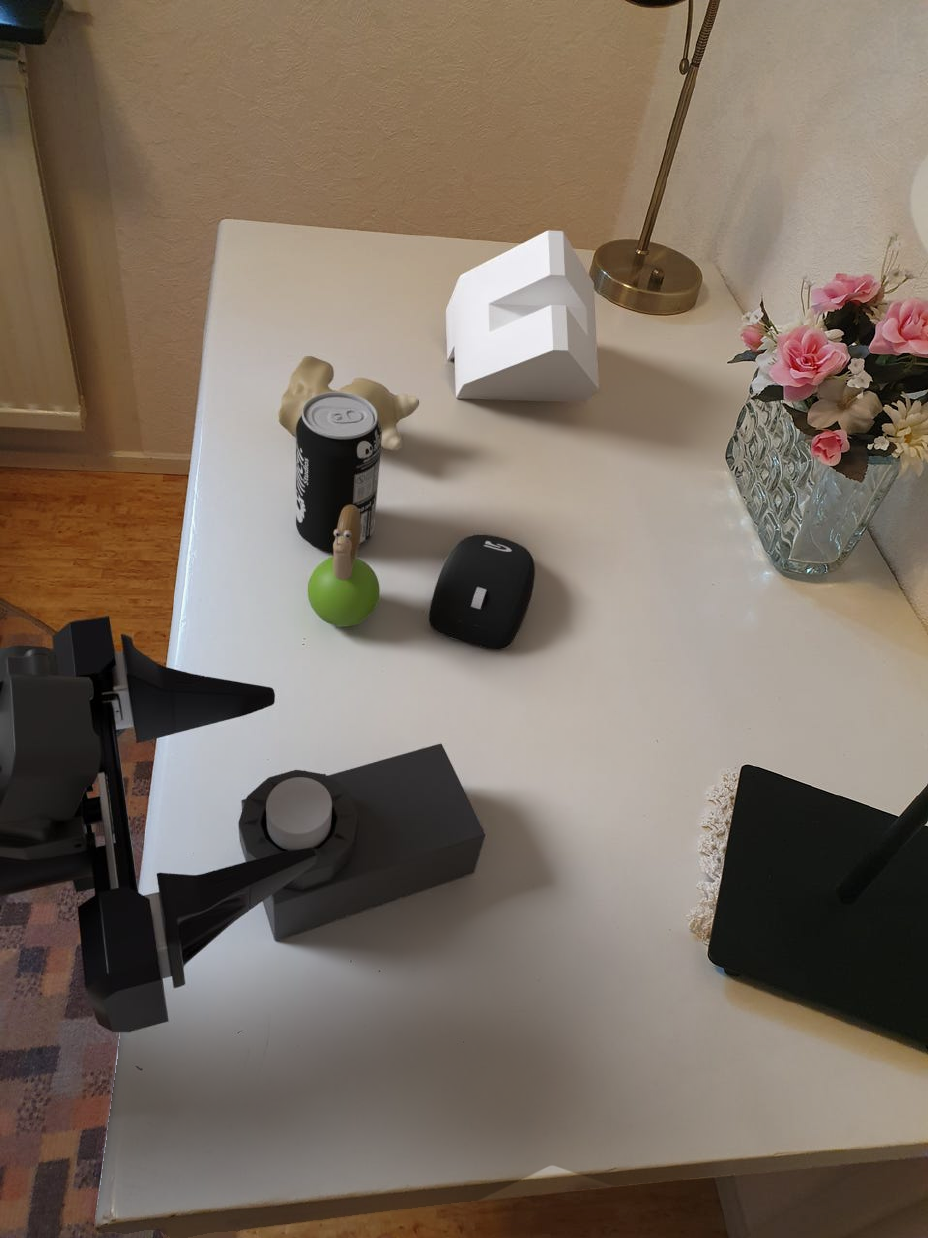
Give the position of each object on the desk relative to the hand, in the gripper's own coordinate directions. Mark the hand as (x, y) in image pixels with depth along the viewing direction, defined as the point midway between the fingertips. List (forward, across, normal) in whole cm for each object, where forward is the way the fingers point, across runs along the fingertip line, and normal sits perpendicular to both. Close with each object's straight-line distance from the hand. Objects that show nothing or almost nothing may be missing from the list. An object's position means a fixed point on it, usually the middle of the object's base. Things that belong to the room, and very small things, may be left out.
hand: (293, 771), depth 45 cm
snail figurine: (+9, +21, +16) cm, 28 cm away
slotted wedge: (+35, +48, +16) cm, 62 cm away
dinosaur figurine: (+15, +43, +16) cm, 49 cm away
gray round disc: (+1, +1, +8) cm, 8 cm away
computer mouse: (+21, +21, +15) cm, 34 cm away
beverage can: (+11, +31, +16) cm, 37 cm away
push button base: (+5, +1, +15) cm, 16 cm away
